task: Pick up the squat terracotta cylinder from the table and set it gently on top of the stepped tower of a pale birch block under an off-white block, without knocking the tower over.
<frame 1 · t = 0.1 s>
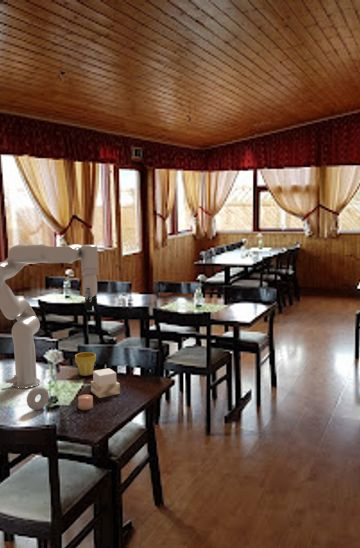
hand: (91, 308, 254), 37 cm above the table, tool pointing down, fingers open, 9 cm apart
tower top block: (104, 382, 250), point 5 cm above the table, touching tower base block
terracotta cylinder: (85, 407, 233), on the table
donut: (38, 410, 231), on the table
plant pot: (86, 374, 277), on the table
tower base block: (105, 393, 251), on the table, touching tower top block
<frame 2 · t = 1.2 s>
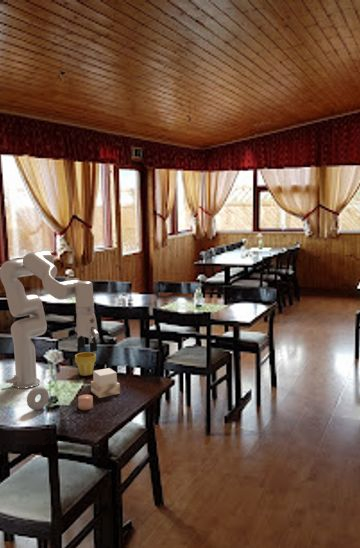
hand: (87, 349, 236), 23 cm above the table, tool pointing down, fingers open, 9 cm apart
nothing on the table moved.
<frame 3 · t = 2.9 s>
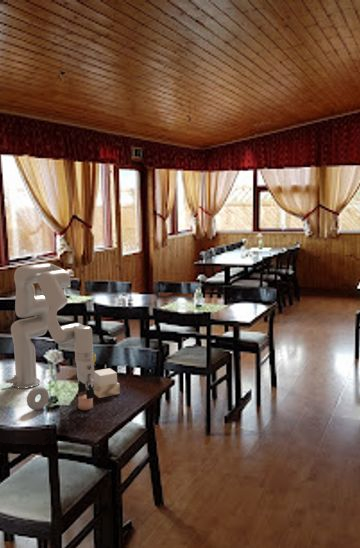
hand: (86, 394, 232), 6 cm above the table, tool pointing down, fingers open, 9 cm apart
nothing on the table moved.
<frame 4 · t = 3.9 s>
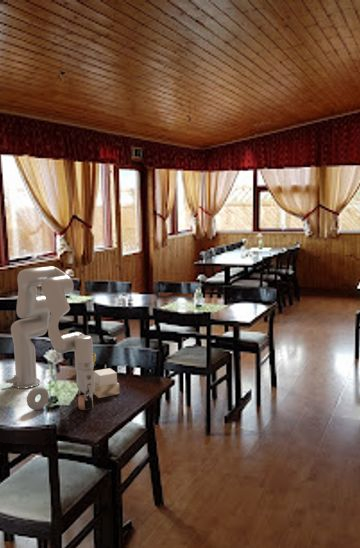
hand: (85, 405, 233), 1 cm above the table, tool pointing down, fingers closed on terracotta cylinder, 6 cm apart
tower top block: (105, 382, 250), point 5 cm above the table
terracotta cylinder: (85, 407, 233), on the table, touching gripper
tower base block: (105, 393, 250), on the table
everything else where it was.
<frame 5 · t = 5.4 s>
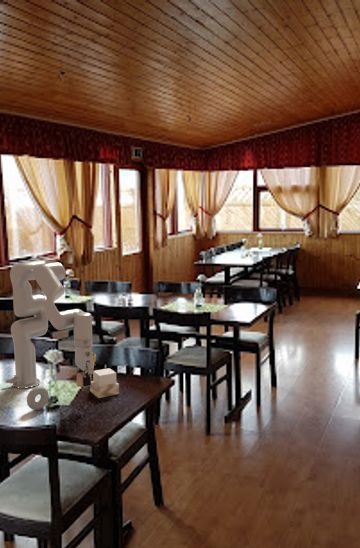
hand: (84, 382, 232), 11 cm above the table, tool pointing down, fingers closed on terracotta cylinder, 6 cm apart
tower top block: (104, 382, 250), point 5 cm above the table, touching tower base block
terracotta cylinder: (84, 384, 232), point 10 cm above the table, touching gripper
tower base block: (104, 393, 250), on the table, touching tower top block
everything else where it was.
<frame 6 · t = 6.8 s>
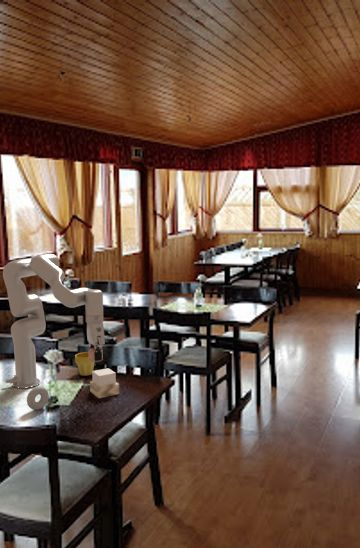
hand: (95, 358, 240), 18 cm above the table, tool pointing down, fingers closed on terracotta cylinder, 6 cm apart
terracotta cylinder: (95, 359, 241), point 18 cm above the table, touching gripper
everything else where it was.
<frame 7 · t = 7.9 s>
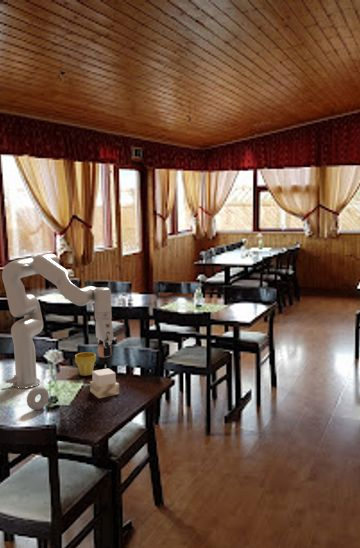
hand: (104, 353, 248), 18 cm above the table, tool pointing down, fingers closed on terracotta cylinder, 6 cm apart
terracotta cylinder: (104, 355, 248), point 17 cm above the table, touching gripper
everything else where it was.
when the fingers open (11 cm above the table, at t = 10.4 s): terracotta cylinder moves 1 cm, resting on tower top block.
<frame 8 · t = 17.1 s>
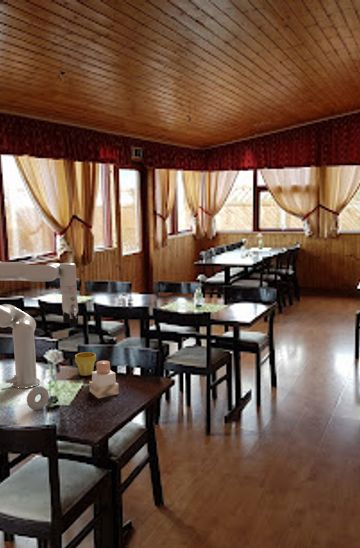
hand: (70, 324, 261), 28 cm above the table, tool pointing down, fingers open, 9 cm apart
tower top block: (103, 383, 249), point 5 cm above the table, touching terracotta cylinder, tower base block
terracotta cylinder: (103, 372, 249), point 10 cm above the table, touching tower top block
everything else where it was.
at the end: terracotta cylinder 0.3 cm off-centre on the tower top block, point 5.0 cm above the tower top block's base; tower top block moved 0.9 cm from its start; terracotta cylinder tilted 0° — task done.
